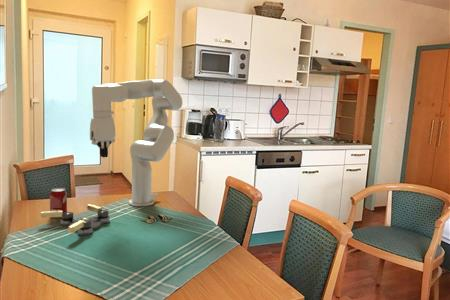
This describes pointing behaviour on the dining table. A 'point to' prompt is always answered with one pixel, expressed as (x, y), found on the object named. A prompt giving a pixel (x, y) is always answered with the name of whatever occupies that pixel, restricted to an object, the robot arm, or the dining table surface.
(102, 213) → the knob
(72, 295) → the dining table surface
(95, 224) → the tribrach
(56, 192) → the soda can
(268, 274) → the dining table surface
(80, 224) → the knob
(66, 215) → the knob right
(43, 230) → the dining table surface
